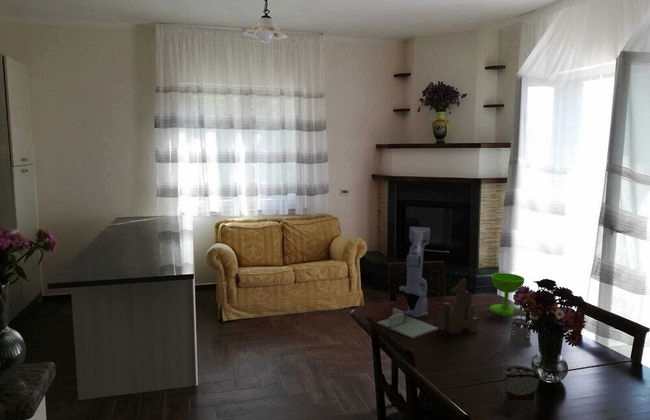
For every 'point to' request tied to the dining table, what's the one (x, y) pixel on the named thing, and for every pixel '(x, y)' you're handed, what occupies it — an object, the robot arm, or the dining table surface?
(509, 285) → the wineglass
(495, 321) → the dining table surface
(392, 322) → the fence panel
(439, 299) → the dining table surface
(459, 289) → the wooden toy
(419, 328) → the board
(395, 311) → the base
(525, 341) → the grey box grater
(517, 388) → the food container
